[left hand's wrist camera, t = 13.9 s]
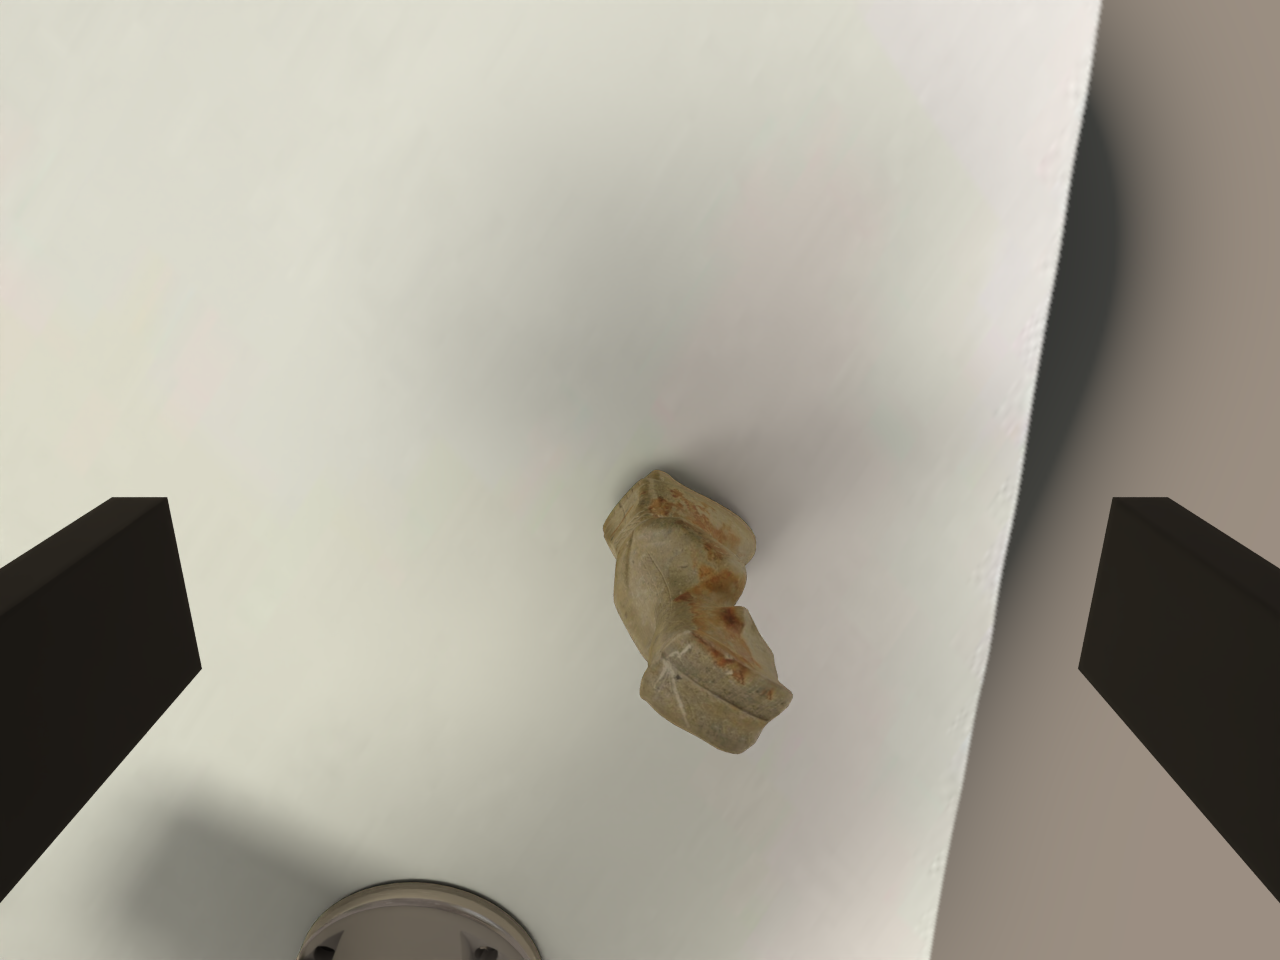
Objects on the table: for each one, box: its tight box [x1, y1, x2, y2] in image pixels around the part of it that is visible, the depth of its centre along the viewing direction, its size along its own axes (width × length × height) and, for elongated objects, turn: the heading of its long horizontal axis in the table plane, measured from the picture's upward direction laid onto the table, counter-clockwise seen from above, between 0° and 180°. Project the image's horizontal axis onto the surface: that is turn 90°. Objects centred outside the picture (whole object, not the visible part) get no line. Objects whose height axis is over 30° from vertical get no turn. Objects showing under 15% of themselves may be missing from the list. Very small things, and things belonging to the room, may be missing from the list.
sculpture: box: [603, 470, 793, 754], centre depth 37 cm, size 6×7×15 cm
